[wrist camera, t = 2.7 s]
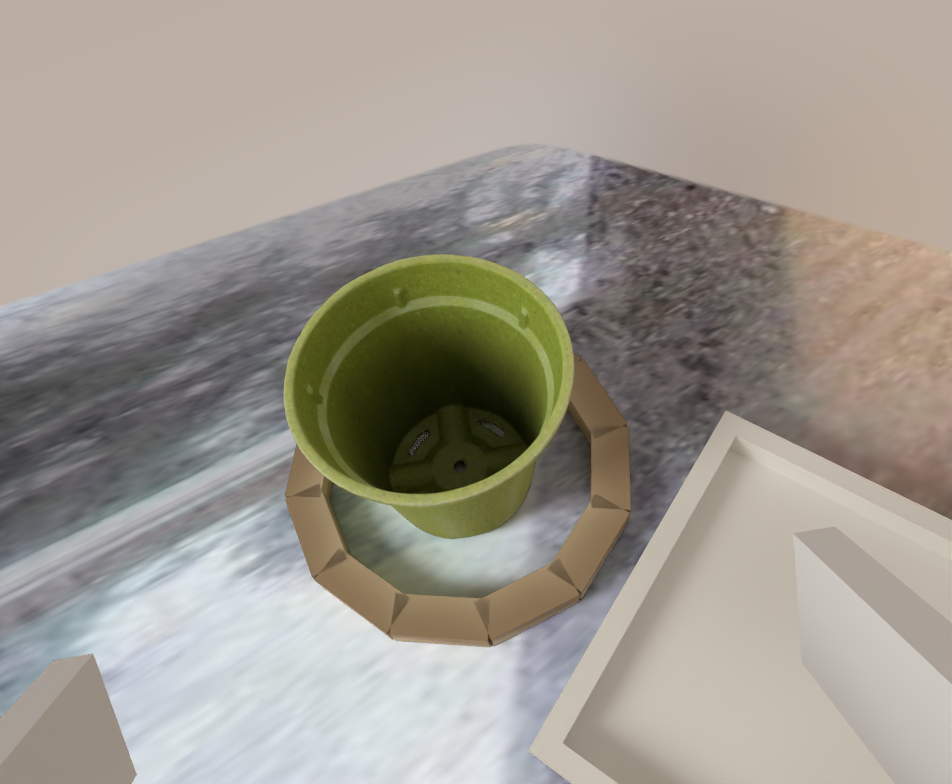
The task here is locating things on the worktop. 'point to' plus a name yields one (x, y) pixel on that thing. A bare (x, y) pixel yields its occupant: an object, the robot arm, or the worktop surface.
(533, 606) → the oak ring
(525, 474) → the plant pot
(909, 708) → the robot arm
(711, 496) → the grey tray
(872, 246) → the worktop surface
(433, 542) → the worktop surface
